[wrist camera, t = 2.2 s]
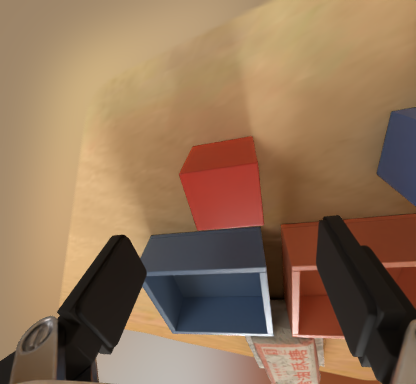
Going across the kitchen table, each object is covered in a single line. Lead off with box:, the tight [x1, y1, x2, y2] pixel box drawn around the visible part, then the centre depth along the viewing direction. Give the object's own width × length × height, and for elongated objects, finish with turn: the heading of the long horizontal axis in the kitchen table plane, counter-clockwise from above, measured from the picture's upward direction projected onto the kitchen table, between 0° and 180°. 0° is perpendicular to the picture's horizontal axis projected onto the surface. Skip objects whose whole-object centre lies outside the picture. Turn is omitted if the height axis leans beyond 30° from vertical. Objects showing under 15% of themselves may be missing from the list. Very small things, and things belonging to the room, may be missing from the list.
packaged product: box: [245, 300, 324, 384], centre depth 27 cm, size 18×5×10 cm
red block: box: [179, 136, 264, 231], centre depth 14 cm, size 4×4×4 cm
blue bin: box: [140, 226, 274, 336], centre depth 21 cm, size 11×11×4 cm
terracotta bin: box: [281, 214, 416, 339], centre depth 18 cm, size 11×11×4 cm
